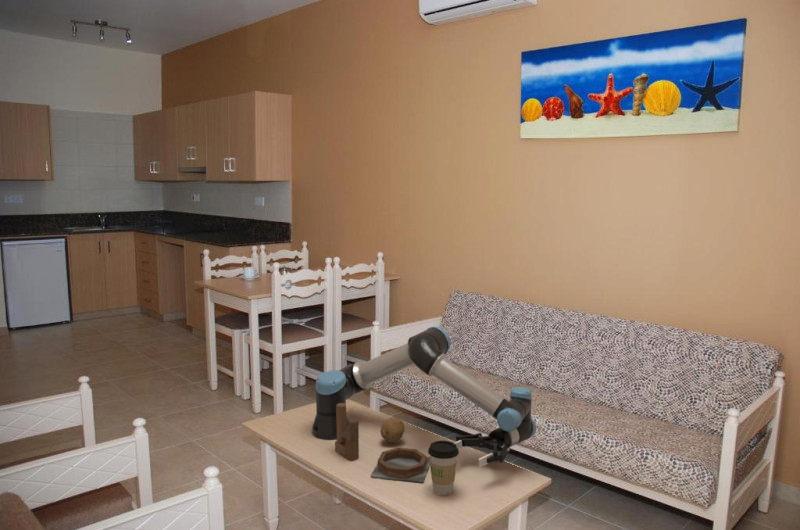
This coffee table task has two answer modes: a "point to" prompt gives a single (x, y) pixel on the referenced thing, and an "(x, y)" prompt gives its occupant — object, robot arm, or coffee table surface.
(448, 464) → the coffee cup
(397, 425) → the brown round lump
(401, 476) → the cup collar
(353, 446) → the wooden block
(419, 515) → the coffee table surface
